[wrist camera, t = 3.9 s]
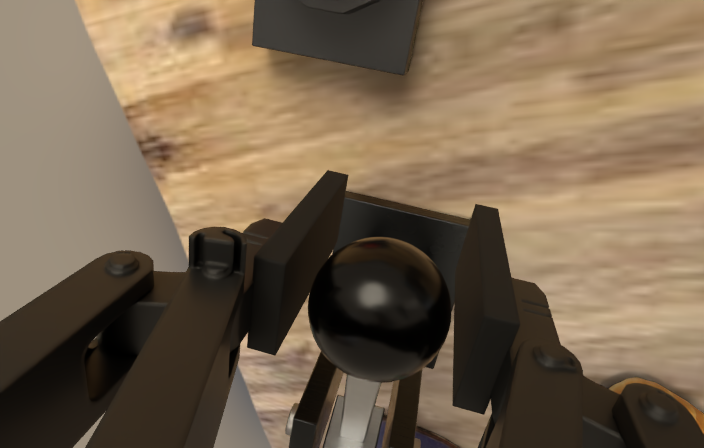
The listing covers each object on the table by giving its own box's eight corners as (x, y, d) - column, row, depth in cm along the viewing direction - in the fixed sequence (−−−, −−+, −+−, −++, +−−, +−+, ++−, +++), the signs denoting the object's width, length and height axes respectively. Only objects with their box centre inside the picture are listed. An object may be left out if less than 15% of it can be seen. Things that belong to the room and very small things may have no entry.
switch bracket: (345, 190, 31) (252, 332, 17) (477, 221, 30) (492, 399, 16) (322, 328, 37) (237, 523, 23) (434, 358, 36) (417, 583, 21)
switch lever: (333, 193, 12) (282, 316, 9) (474, 227, 11) (457, 365, 9) (326, 397, 23) (303, 474, 21) (395, 417, 23) (379, 498, 21)
